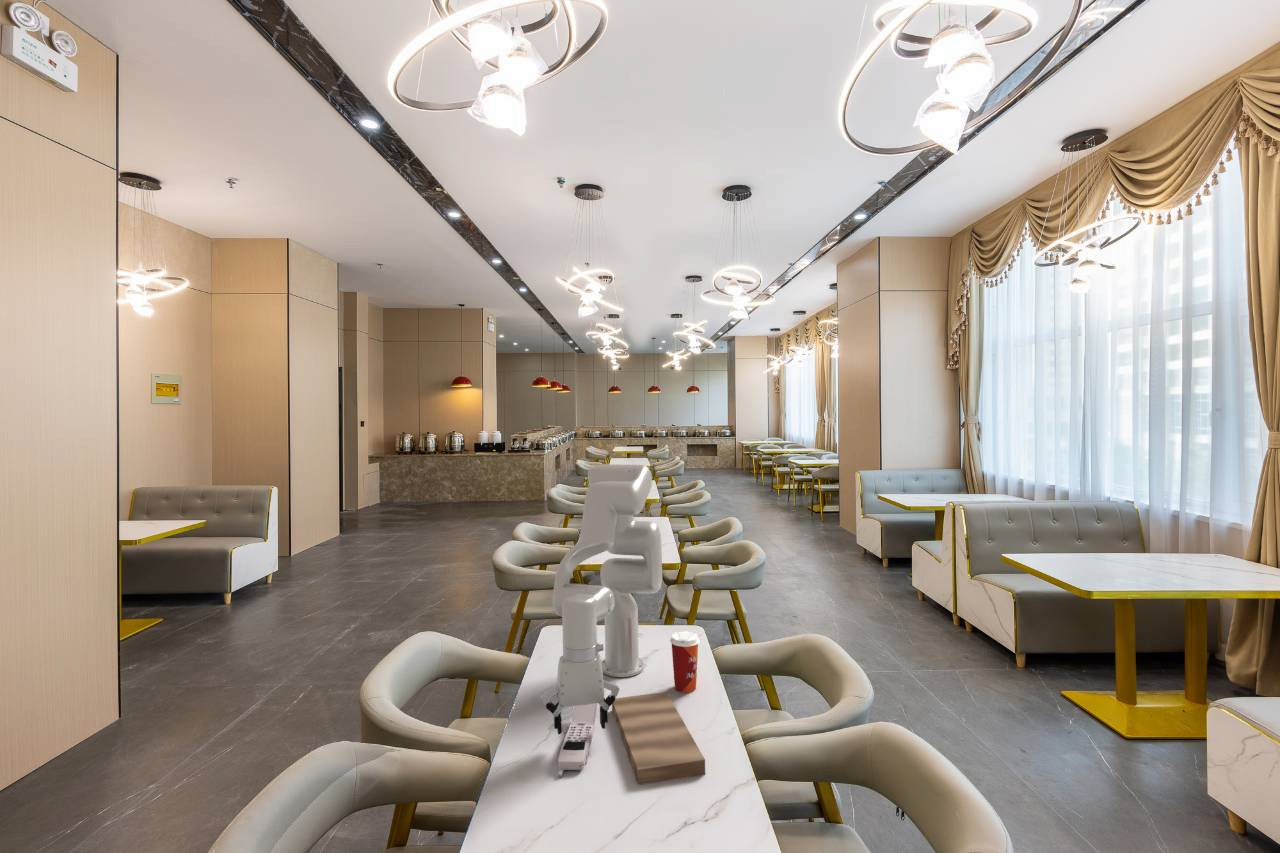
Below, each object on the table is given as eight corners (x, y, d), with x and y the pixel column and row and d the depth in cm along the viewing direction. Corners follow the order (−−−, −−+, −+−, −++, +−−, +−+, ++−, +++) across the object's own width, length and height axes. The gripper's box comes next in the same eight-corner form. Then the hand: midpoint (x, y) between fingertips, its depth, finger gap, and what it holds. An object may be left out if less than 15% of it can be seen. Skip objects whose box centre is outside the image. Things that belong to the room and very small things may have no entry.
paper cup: (698, 695, 157) (697, 642, 157) (668, 693, 159) (668, 640, 158) (701, 682, 165) (700, 631, 164) (673, 680, 167) (672, 629, 166)
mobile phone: (599, 692, 148) (582, 751, 123) (600, 716, 148) (583, 779, 123) (575, 692, 149) (552, 750, 124) (575, 716, 149) (553, 779, 124)
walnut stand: (611, 710, 151) (611, 698, 150) (666, 703, 154) (666, 691, 153) (638, 784, 121) (637, 769, 121) (705, 774, 124) (705, 759, 124)
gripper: (615, 642, 140) (616, 715, 141) (539, 649, 137) (540, 725, 137) (621, 654, 133) (622, 732, 133) (541, 662, 129) (542, 742, 130)
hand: (581, 728), depth 135 cm, fingers open, 9 cm apart
